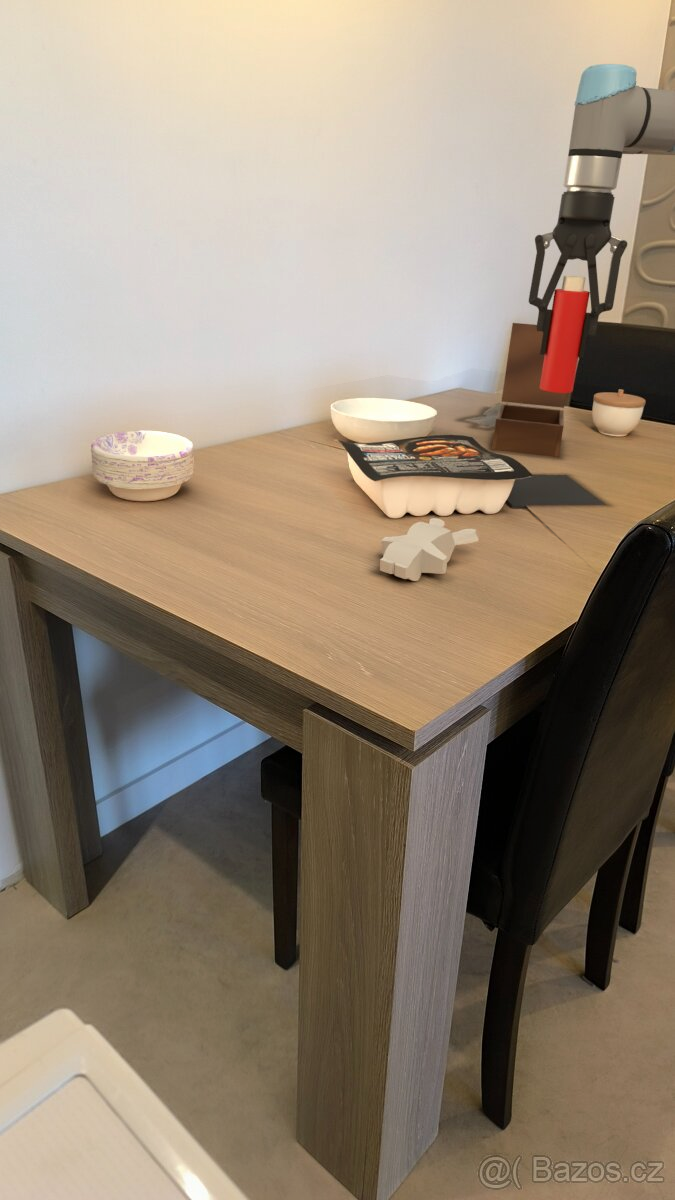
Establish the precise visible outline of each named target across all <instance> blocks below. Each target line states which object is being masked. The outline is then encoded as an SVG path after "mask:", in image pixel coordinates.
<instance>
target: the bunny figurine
mask: <svg viewBox="0 0 675 1200" xmlns="http://www.w3.org/2000/svg"><path fill="white" fill-rule="evenodd" d="M445 525H446V524H445V521H444V520H443V519H441V518H437V517H432V518H430V519H429V521H428V522H424V521H418V522H415V523H413V524H412V525H411V526H410V527H409V529H408V531H407V532H406V534H402V535H394V536H385V537H383V538H382V539H381V552H380V553H381V554H382V555H383V556H382V558H380V559H379V571H381V572H383V573H386V574H389V575H394V576H395V577H398V578H401V579H403V580H409V581H412V582H418V581H419V580H420V579H421V576H422V574H436V575H437V574H440V575H443V574H446V573H447V568H448V563H449V562H450V559H451V557H452V555H453V552H454V550H455V547H456V546H459V545H467V544H474V543H476V542H479V539H480V537H479V534H478V532H477V529H475V528H462V529H459V530H457V531H454V532H452V531H451V530H450V529H448V528H446V527H444V526H445Z"/></svg>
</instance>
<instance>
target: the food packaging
mask: <svg viewBox="0 0 675 1200" xmlns="http://www.w3.org/2000/svg"><path fill="white" fill-rule="evenodd" d="M334 441H336V442H339V443H340V445H342V447H343V448H344V449H345V451H346V452H347V453H346V454H347V461H348V468H349V471H350V473H351V475H352V478H353V480H354V482H355V484H357V485H358V487H359V488H360V489H361V490H362V491H363V492H364V493H365V494H366V495H367V496H368V497H369V499H370V500H372V502H374V504H375V505H376V506H377V507H378V508H379V509H380V510H381V511H382V513H384V515H386V516H387V517H388V518H390V519H400V518H402V517H404V516H405V515H406V514H407V513H409V514H410V515H411V516H414V517H423V516H426V515H428V514H429V513H430V512H431V511H432V512H433V513H434V514H435V515H437V516H439V517H448V516H451V515H452V514H453V513H454V511H456V512H458V513H460V514H463V515H471V514H473V513H475V512H477V511H480V512H482V513H483V514H487V515H494V514H497V513H499V512H500V511H501V510H502V508H503V507H504V505H505V503H506V502H505V501H506V500H507V498H508V497H509V495H510V492H511V490H512V487H513V484H514V481H515V479H522V478H527V477H532V476H533V475H534V474H533V473H532V472H530V470H529V469H527V468H526V466H524V464H522V463H521V462H519V461H518V460H516V459H515V458H513V457H511V456H508V455H506V454H502V453H496V452H493V451H491V450H488V449H486V448H485V447H484V446H482V445H481V444H480V443H479V442H478V441H477V440H476V439H474V437H473V436H467V435H463V434H462V435H459V434H440V435H439V434H437V435H427V436H424V437H416V438H408V439H401V440H393V441H384V442H374V443H358V442H351V441H350V442H349V441H343V440H340V439H339V440H338V439H334Z"/></svg>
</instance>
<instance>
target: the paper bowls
mask: <svg viewBox="0 0 675 1200" xmlns="http://www.w3.org/2000/svg"><path fill="white" fill-rule="evenodd" d="M90 447H91V448H90V452H91V465H92V476H93V477H94V479H95V480H96V481H98V482H99V483H101V484H104V485H106V486H107V488H108V489H109V491H110V492H111V493H112V494H113V495H114V496H115V497H117V498H120V499H122V500H126V501H132V502H156V501H162V500H165V499H168V498H171V497H173V496H174V495H176V494H177V493H178V492H179V490H180V489H181V487H182V484H183V483H185V482H187V481H189V480H191V479H192V478H193V477H194V474H195V453H194V449H195V446H194V444H193V442H192V441H191V440H190V439H188V438H186V437H184V436H182V435H179V434H175V433H171V432H165V431H157V430H127V431H119V432H112V433H109V434H104V435H101V436H99V437H97V438H95V439H94V440H93V441H92V442H91V446H90Z"/></svg>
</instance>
